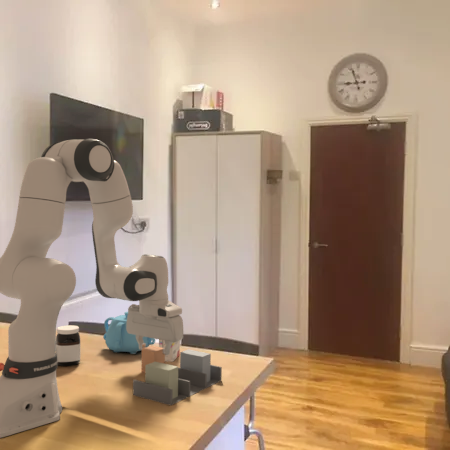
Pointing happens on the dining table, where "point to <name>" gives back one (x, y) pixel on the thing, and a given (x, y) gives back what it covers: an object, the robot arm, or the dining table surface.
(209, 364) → the blue-grey block
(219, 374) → the slot rack
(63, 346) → the spread jar
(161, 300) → the robot arm
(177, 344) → the ink cartridge box
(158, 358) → the terracotta plug
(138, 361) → the dining table surface
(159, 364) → the sage block
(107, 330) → the decorative pot
